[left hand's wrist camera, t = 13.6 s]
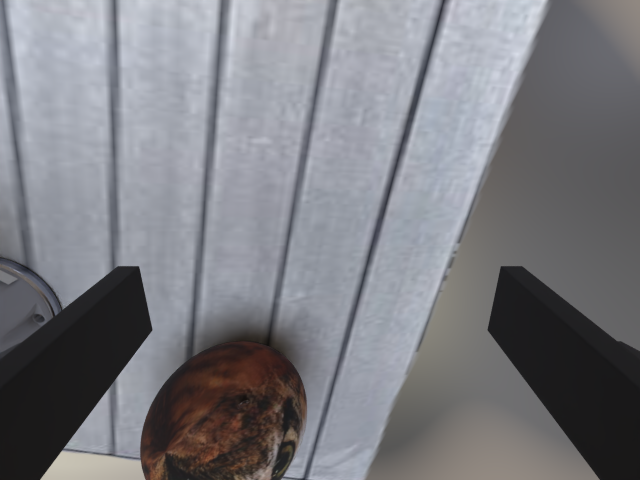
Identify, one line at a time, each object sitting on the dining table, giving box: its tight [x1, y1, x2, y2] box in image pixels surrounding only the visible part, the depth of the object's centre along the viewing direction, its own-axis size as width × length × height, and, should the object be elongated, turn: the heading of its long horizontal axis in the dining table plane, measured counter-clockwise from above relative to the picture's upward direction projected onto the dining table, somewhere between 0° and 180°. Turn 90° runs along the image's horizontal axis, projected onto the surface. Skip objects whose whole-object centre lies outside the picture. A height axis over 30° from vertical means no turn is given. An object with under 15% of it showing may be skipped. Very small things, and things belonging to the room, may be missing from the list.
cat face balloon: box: [140, 341, 307, 480], centre depth 43 cm, size 22×18×20 cm
